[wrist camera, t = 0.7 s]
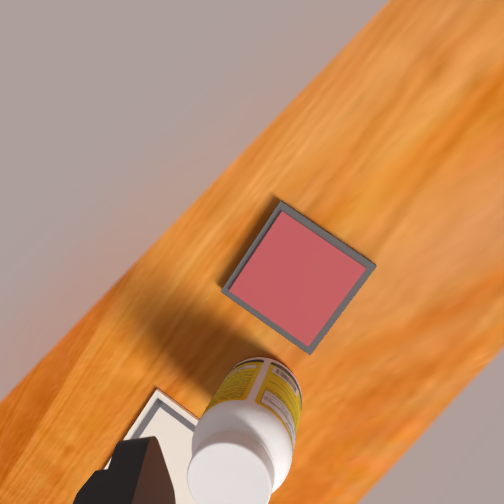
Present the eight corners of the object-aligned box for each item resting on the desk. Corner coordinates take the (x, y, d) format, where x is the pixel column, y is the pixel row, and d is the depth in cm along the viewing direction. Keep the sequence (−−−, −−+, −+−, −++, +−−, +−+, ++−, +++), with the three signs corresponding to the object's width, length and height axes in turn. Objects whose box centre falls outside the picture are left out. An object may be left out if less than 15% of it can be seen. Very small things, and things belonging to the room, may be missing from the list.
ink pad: (281, 200, 33) (280, 201, 32) (375, 264, 32) (376, 266, 31) (223, 289, 34) (219, 292, 33) (311, 351, 34) (310, 356, 33)
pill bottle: (218, 419, 36) (164, 517, 25) (230, 346, 35) (180, 415, 24) (295, 440, 35) (273, 552, 24) (310, 365, 34) (294, 446, 23)
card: (157, 388, 37) (155, 390, 36) (259, 464, 36) (258, 467, 35) (99, 475, 39) (97, 478, 38) (194, 549, 38) (192, 553, 37)
